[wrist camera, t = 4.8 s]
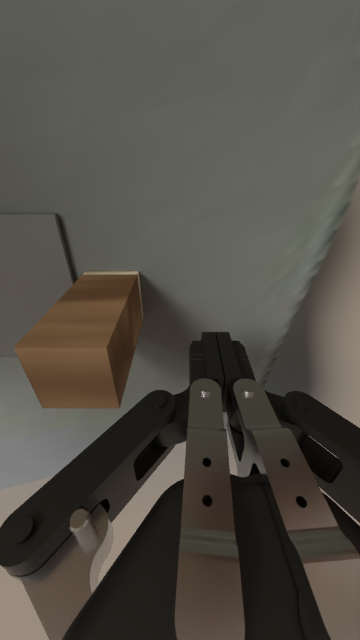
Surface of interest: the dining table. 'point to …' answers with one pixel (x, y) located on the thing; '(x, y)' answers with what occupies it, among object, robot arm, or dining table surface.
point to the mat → (29, 273)
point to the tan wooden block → (85, 342)
